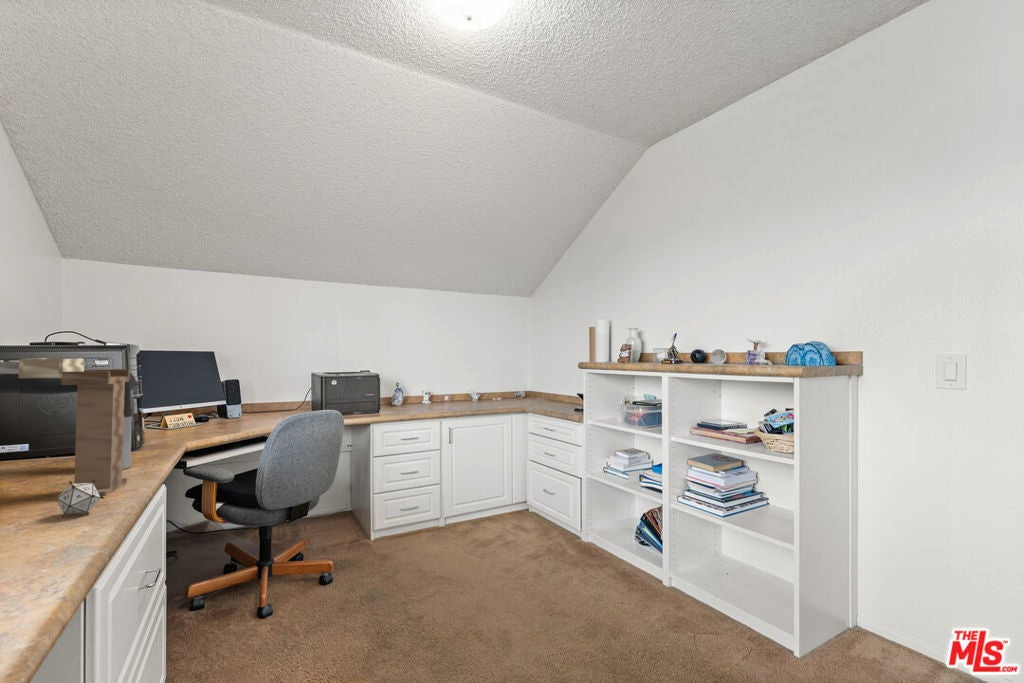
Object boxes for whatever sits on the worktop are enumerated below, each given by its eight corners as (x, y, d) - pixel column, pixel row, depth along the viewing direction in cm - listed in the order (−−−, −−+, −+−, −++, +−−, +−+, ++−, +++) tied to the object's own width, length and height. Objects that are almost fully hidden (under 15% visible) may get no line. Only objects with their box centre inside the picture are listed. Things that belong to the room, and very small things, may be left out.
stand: (84, 486, 141) (88, 369, 142) (126, 483, 144) (129, 369, 145) (57, 501, 127) (61, 371, 128) (104, 497, 130) (108, 371, 131)
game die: (78, 532, 115) (64, 506, 110) (52, 517, 117) (37, 490, 111) (116, 504, 122) (105, 479, 117) (91, 490, 124) (80, 464, 119)
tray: (4, 376, 134) (4, 358, 134) (83, 375, 140) (84, 358, 140) (-26, 378, 123) (-26, 358, 123) (62, 377, 129) (62, 359, 129)
